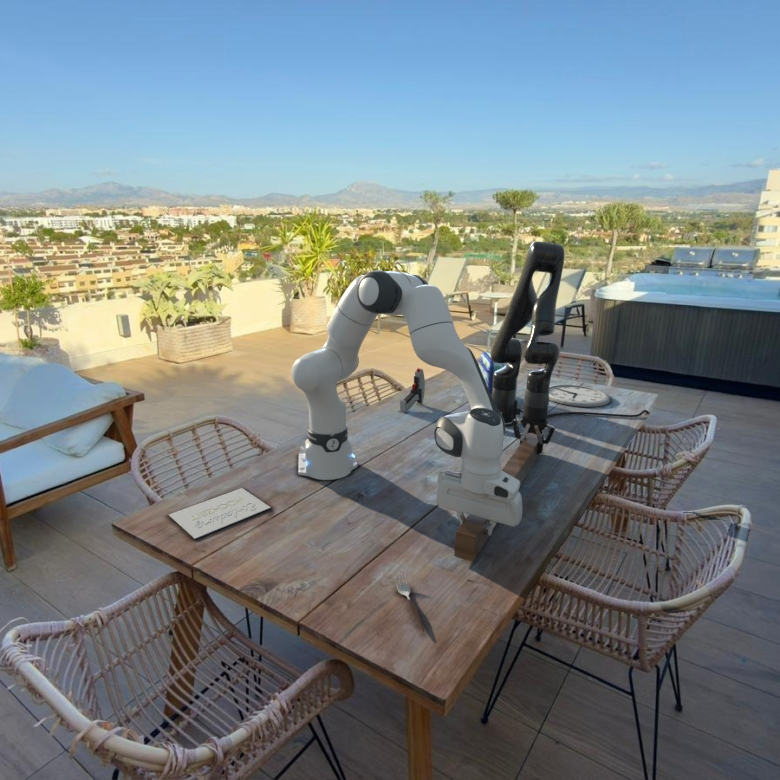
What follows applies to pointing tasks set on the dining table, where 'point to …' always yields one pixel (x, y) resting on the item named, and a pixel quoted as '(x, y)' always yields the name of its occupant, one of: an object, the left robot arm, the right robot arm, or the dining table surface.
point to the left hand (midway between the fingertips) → (476, 530)
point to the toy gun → (414, 392)
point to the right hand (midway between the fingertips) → (530, 451)
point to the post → (473, 527)
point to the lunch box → (489, 368)
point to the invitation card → (218, 512)
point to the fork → (406, 591)
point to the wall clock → (577, 396)
